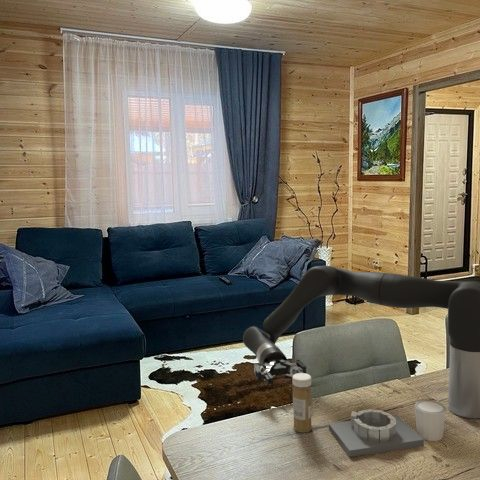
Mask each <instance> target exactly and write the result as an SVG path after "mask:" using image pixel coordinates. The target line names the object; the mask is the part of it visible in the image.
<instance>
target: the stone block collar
mask: <svg viewBox="0 0 480 480" xmlns="http://www.w3.org/2000/svg"><path fill="white" fill-rule="evenodd" d="M392 415H393V414H391V413H388V412H386V411H383V410H381V409H379V410H378V409H373V408H370V409H362V410H359V411H358V412H357V411H353V410H352V411H351V414H350V421H351V428H354V432H355V433H356V434H357V436H359V437H360V438H362V439H365V440H367V441H372V442H387V441H391V440H392V439H393V438H395V437H396V419H395V418H394V417H393V416H392ZM371 423H372V424H380V425H382V426H383V427H373V426H368V425H366V424H371Z"/></svg>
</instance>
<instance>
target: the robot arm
mask: <svg viewBox="0 0 480 480" xmlns="http://www.w3.org/2000/svg"><path fill="white" fill-rule="evenodd" d="M334 295H335V296H336V295H337V296H349V297H351V296H352V297H355V298H359V299H362V300H363V301H367V302H369V303H371V304H374V305H379V306H386V307H388V308H397V309H399V308H400V309H415V308H417V309H418V308H441V309H447V330H448V331H447V333H448V337H449V371H448V372H449V373H448V396H447V397H448V398H447V403H448V404H447V406H448V408H447V409H448V410H449V411H450V412H451V413H453V414H454V415H457V416H460V417H463V418H467V419H480V282H479V281H466V280H465V281H462V280H461V281H458V280H457V281H456V280H455V281H454V280H453V281H452V280H449V281H448V280H435V279H430V278H424V277H419V276H412V275H406V274H398V273H389V272H379V271H377V272H376V271H366V272H365V271H364V272H363V271H361V272H360V271H352V270H348V269H342V268H338V267H335V266H331V265H317V266H312V267H311V268H309V269H308V270H307V271H306V272H305V273H304V274H303V276H302V277H301V279H300V280H299V281H298V283H297V284H296V286H295V287H294V288H293V290H292V291H291V292H290V294H289V295H288V296H287V297H286V298H285V299H284V300H283V302H281V304H280V305H278V306H277V307H276V308H275V309H274V311H272V312H271V313H270V314H269V315H268V316H267V317H266V318H264V321H263V324H262V325H263V326H262V327H263V329H264V331H263V330H262V329H261V328H259V327H257V326H249V327H248V328H246V330H244V333H243V335H242V342H243V344H244V346H245V347H246V348H247V349H248V350H250V352H251V353H253V354H254V355H255V357H256V358H257V361H258V363H254V364H253V373H254V376H255V378H256V381H259V382H260V381H262V380H263V381H264V382H265V383H266V384H267V385H269V386H271V387H272V386H274V378H273V377H278V376H280V375H281V376H287V377H291V378H292V377H293V375H295V374H297V373H306V374H308V373H307V365H305V363H303V362H302V361H301V360H300V359H296V360H295V362H291V361H289V360H288V357H287V356H286V355H285V353H283V351H282V350H281V349H280V347H279V346H278V345H276V344H277V341H278V339H279V338H280V337H281V335H282V334H283V333H284V332H285V331H287V330H288V329H289V328H290V327H291V326H292V324H294V323H295V321H296V320H297V319H298V317H299V315H300V313H301V312H302V311H303V309H304V308H305V307H306V306H308V305H309V304H310V303H311V302H313V301H314V300H316V299H319V297H326V296H334Z"/></svg>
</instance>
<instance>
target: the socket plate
mask: <svg viewBox="0 0 480 480" xmlns="http://www.w3.org/2000/svg"><path fill="white" fill-rule="evenodd" d="M391 415H392V416H393V417H394V418H395V419H396V437H395V438H393V439H392V440H391V441H387V442H372V441H367V440H365V439H362V438H360V437H359V436H357V434H356V433H355V432H354V428H351V420H345V421H338V422H329V423H328V430H329V431H330V433H331V435H332V436H333V437H334V438H335V440H336V441H337V442H338V444H339V445H340V446H341V448H342V449H343V450H344V452H345V453H346V454H347V456H348V457H350V458H352V457H359V456H364V455H371V454H376V453H377V454H378V453H379V454H380V453H384V452H392V451H397V450H406V449H411V448H417V447H424V446H425V439H423V438H422V437H421V436H420V435H419V434H418V433H417V431H416V430H414V429H413V428H412V427H411V426H410V425H409V424H408V423H407V422H406V421H405V420H403V418H401V417H400V416H399V415H398V414H397V413H396V414H391ZM366 425H368V426H373V427H383V426H382V425H380V424H372V423H371V424H366Z"/></svg>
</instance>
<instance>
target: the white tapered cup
mask: <svg viewBox="0 0 480 480" xmlns="http://www.w3.org/2000/svg"><path fill="white" fill-rule="evenodd" d="M414 411H415V424H416V433H418V434H419V435H420V436H421V437H422V438H423V439H424V441H425V440H426V441H431V442H437V441H440V440H442V438H443V436H444V428H445V422H446V413H447V408H446V406H445V405H444V404H443V403H440V402H439V401H434V400H427V399H424V400H423V399H422V400H418V401H416V402H415V404H414Z"/></svg>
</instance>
